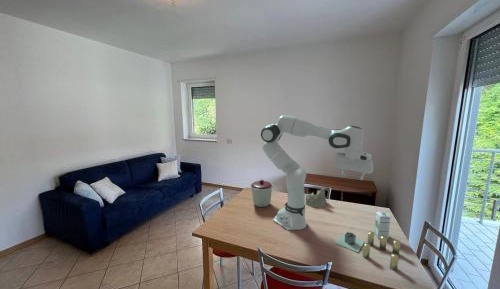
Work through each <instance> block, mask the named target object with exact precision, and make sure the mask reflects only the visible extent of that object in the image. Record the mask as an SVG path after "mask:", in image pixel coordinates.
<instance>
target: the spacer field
mask: <svg viewBox="0 0 500 289" xmlns="http://www.w3.org/2000/svg"><path fill="white" fill-rule="evenodd" d="M379 239H380V240H379V246H378V247H379V249H380V250H381V251H386V249H387V242H388V239H387V237H386V236H380V238H379ZM374 240H375V231H372V230H371V231H368V233H367V241H366V242H364V244H363V252H362V258H364V259H365V260H369V259H370V257H371V256H370V255H371V247H373V246H374V242H375V241H374ZM392 242H393V243H392V251H391V252H392V253H391V254H390V255H391V256H390V262H389V263H390V264H389V268H390V270H392V271H394V272H396V271H398V267H399V258H400V249H401V241H399V240H398V239H393V241H392Z"/></svg>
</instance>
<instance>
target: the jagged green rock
mask: <svg viewBox="0 0 500 289" xmlns="http://www.w3.org/2000/svg"><path fill="white" fill-rule="evenodd" d="M304 204H305V206H309V207H312V208H321V209H322V208H325V207H326V205H327V199H326V192H325V188H323V187H321V188H320V190H319V189H317V190H316V194H315V193H314V192H311V193H309V194H308V193H306V195H305V202H304Z"/></svg>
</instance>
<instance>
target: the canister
mask: <svg viewBox="0 0 500 289" xmlns="http://www.w3.org/2000/svg"><path fill="white" fill-rule="evenodd" d="M273 186H274V184H273V183H272V182H270V181H267V180H264V179H259V180H257V181H254V182H252V183H251V184H250V188H251V195H252V201H253V204H254V205H255V206H256V207H259V208H266V207H268V206H269V205H270V203H271V198H272V190H273Z"/></svg>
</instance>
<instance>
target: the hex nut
mask: <svg viewBox="0 0 500 289" xmlns="http://www.w3.org/2000/svg"><path fill="white" fill-rule="evenodd" d="M344 234H345V242H346V243H347V244H348V245H354V244H355V241H356V239H357V236H356V234H354V233H353V232H346V233H344Z"/></svg>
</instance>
